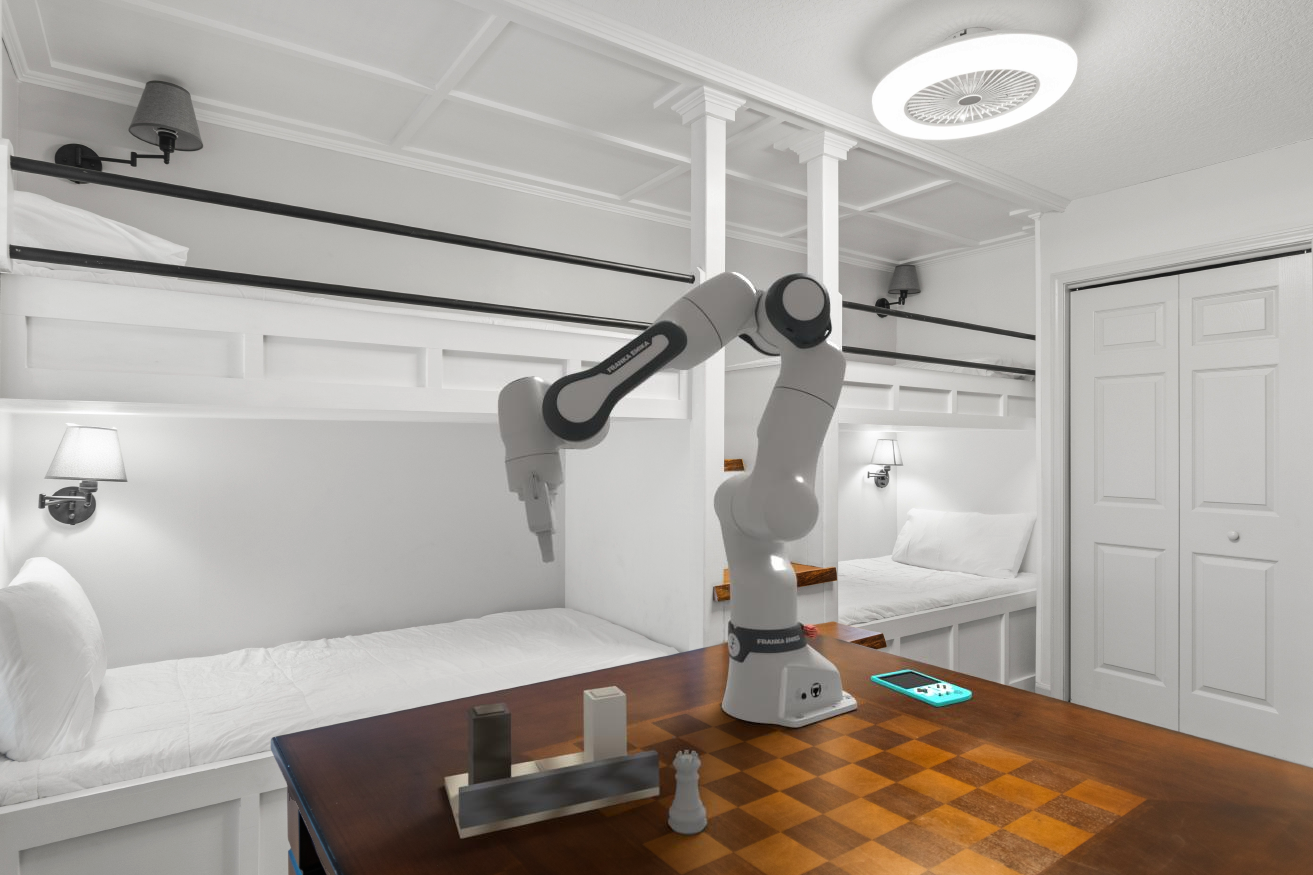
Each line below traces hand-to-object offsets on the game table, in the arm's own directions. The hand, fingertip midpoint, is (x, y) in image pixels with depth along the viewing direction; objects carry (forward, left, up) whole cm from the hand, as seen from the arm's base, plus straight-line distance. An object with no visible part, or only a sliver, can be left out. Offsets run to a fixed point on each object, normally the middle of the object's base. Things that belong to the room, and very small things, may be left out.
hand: (549, 562), depth 112 cm
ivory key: (-2, +22, -24) cm, 32 cm away
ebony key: (+13, +22, -24) cm, 35 cm away
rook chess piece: (-6, +37, -26) cm, 45 cm away
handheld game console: (-65, +12, -26) cm, 71 cm away
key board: (+6, +22, -25) cm, 34 cm away
